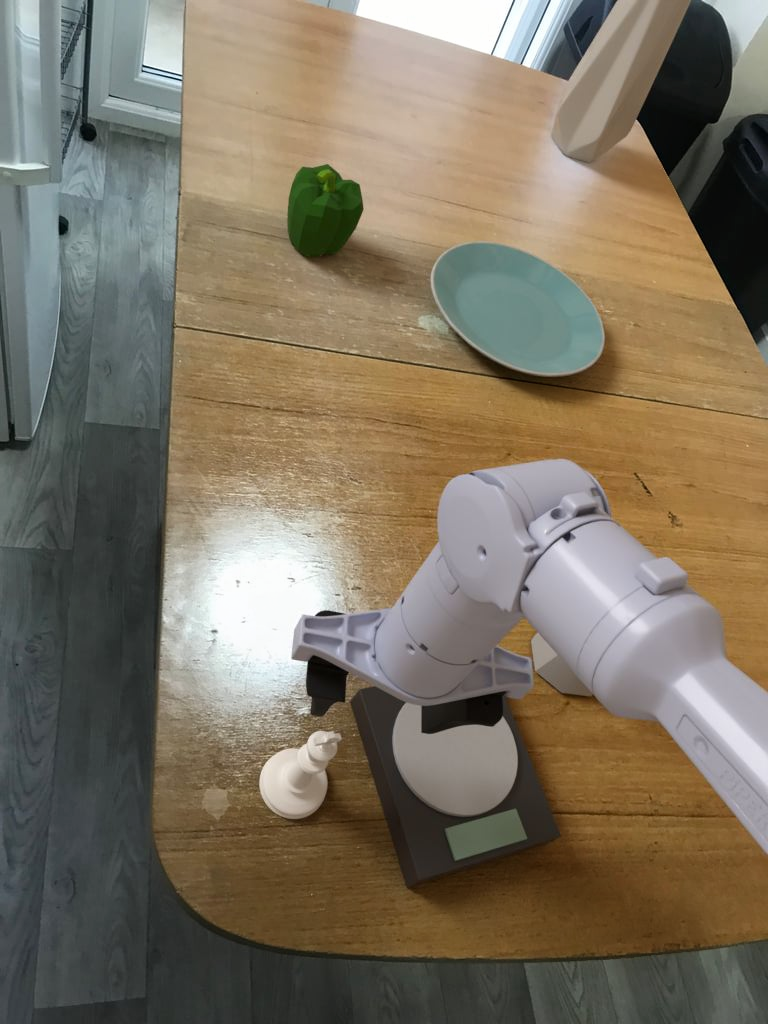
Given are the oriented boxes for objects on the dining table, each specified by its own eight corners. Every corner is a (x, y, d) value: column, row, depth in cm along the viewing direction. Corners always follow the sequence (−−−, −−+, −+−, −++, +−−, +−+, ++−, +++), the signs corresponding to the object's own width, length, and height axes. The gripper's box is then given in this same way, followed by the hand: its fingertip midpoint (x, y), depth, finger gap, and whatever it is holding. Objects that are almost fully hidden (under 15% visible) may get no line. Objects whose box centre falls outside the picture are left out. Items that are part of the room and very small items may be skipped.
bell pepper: (324, 215, 100) (348, 140, 92) (359, 262, 97) (387, 189, 89) (262, 222, 95) (282, 143, 88) (296, 271, 92) (320, 195, 85)
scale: (545, 844, 64) (565, 834, 62) (406, 888, 59) (421, 878, 56) (480, 676, 71) (495, 661, 68) (349, 701, 65) (361, 686, 63)
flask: (522, 677, 72) (580, 624, 64) (536, 610, 77) (592, 553, 69) (597, 710, 72) (664, 662, 65) (606, 642, 77) (669, 589, 69)
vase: (570, 119, 136) (693, -109, 111) (618, 163, 133) (756, -61, 108) (522, 126, 129) (641, -116, 104) (571, 173, 126) (707, -65, 101)
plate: (422, 362, 91) (432, 343, 89) (423, 237, 104) (431, 218, 102) (604, 412, 96) (617, 395, 94) (582, 287, 109) (594, 270, 107)
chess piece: (252, 756, 60) (284, 704, 53) (317, 744, 63) (356, 692, 55) (267, 826, 58) (303, 781, 50) (333, 811, 60) (377, 765, 52)
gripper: (562, 580, 50) (470, 673, 60) (326, 529, 46) (272, 638, 57) (574, 690, 46) (473, 770, 56) (316, 643, 42) (260, 738, 52)
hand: (372, 710), depth 56 cm, fingers open, 7 cm apart
